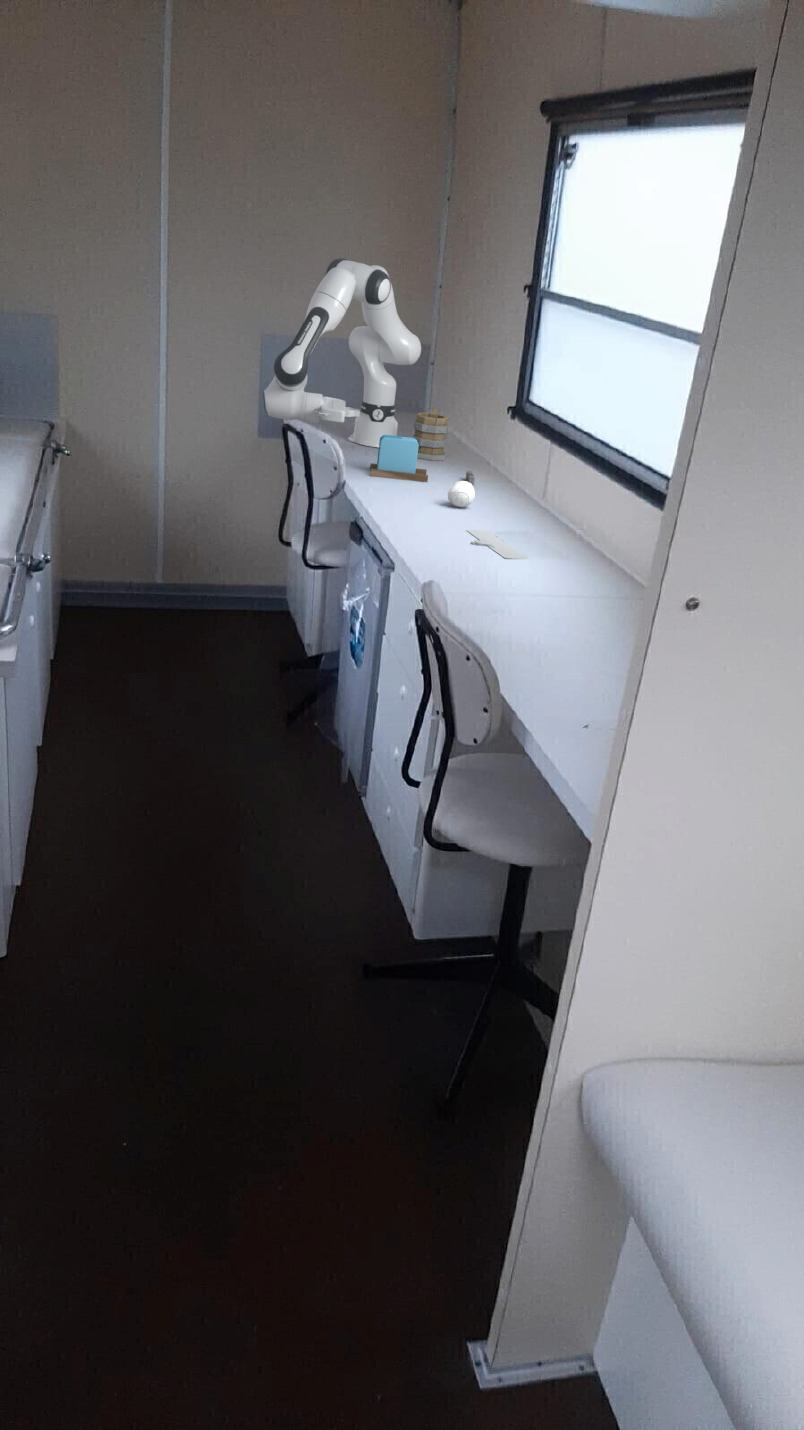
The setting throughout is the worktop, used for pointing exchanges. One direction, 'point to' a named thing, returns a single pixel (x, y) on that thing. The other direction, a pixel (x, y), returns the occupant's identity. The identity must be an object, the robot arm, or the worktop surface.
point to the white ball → (461, 494)
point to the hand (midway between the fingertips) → (359, 413)
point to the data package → (397, 454)
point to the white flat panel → (496, 544)
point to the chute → (410, 474)
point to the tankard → (431, 435)
